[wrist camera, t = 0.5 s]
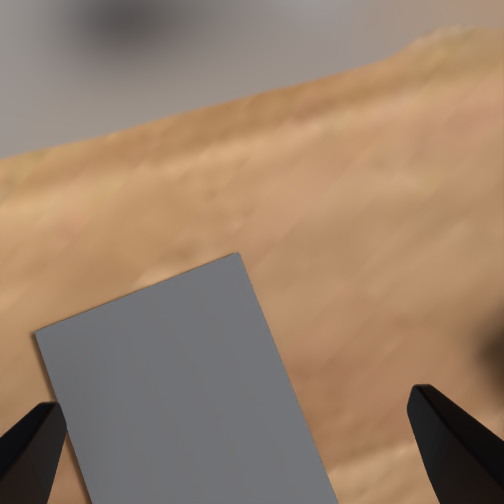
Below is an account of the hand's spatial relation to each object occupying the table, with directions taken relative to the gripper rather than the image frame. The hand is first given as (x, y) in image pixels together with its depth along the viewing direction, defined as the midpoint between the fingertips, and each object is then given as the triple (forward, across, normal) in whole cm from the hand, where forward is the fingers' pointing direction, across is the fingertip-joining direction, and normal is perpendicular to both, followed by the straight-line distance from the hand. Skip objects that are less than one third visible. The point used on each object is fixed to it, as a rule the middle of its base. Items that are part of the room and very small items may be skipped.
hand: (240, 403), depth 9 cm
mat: (+10, +3, +13) cm, 16 cm away
